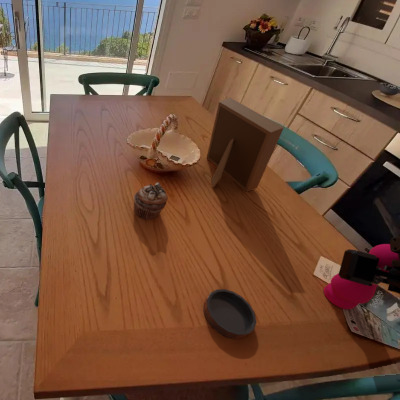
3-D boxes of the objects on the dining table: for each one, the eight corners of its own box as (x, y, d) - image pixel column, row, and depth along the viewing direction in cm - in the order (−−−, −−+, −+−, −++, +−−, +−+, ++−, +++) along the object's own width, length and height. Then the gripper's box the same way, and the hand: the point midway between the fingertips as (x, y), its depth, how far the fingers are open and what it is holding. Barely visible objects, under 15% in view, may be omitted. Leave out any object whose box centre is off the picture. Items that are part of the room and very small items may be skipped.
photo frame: (214, 156, 110) (242, 96, 93) (255, 189, 95) (298, 125, 78) (184, 162, 106) (208, 100, 89) (222, 197, 91) (259, 131, 74)
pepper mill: (313, 285, 68) (373, 232, 55) (339, 283, 69) (404, 230, 55) (336, 312, 63) (408, 261, 49) (364, 310, 63) (443, 259, 50)
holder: (260, 325, 60) (266, 321, 58) (229, 347, 56) (234, 343, 54) (224, 287, 66) (228, 282, 64) (193, 305, 62) (197, 300, 61)
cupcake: (150, 197, 89) (157, 173, 83) (168, 217, 83) (177, 193, 76) (125, 204, 86) (131, 180, 79) (142, 225, 80) (149, 201, 73)
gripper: (526, 259, 43) (423, 248, 58) (388, 226, 47) (326, 224, 62) (508, 326, 43) (410, 298, 58) (372, 287, 47) (314, 270, 62)
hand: (364, 270), depth 60 cm, fingers closed on pepper mill, 5 cm apart
